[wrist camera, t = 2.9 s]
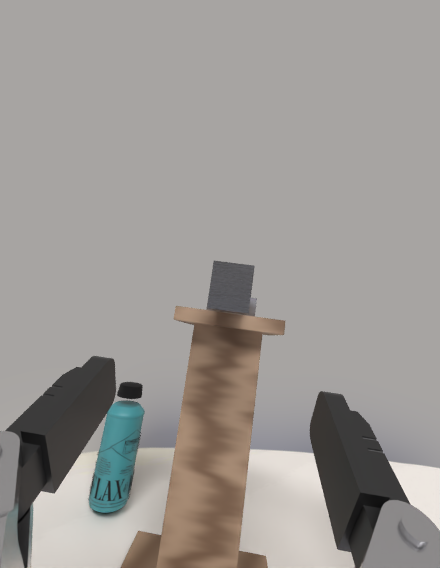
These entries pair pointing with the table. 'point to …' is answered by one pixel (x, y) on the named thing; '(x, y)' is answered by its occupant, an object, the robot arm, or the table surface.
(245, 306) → the steel bar
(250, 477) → the table surface
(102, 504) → the beverage bottle
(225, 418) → the walnut pedestal
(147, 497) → the table surface
